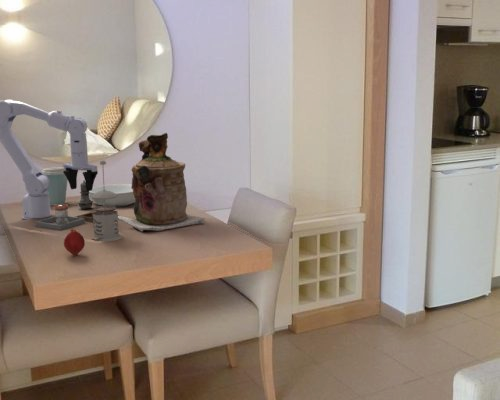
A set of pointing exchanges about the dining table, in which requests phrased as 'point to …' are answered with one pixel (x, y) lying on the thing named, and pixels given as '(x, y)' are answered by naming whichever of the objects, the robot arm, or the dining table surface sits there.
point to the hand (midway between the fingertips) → (81, 189)
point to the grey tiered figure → (84, 197)
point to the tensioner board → (88, 216)
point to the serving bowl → (122, 191)
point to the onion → (74, 242)
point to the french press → (105, 216)
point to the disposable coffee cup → (56, 185)
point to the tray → (47, 224)
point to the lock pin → (61, 213)
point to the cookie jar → (159, 189)
